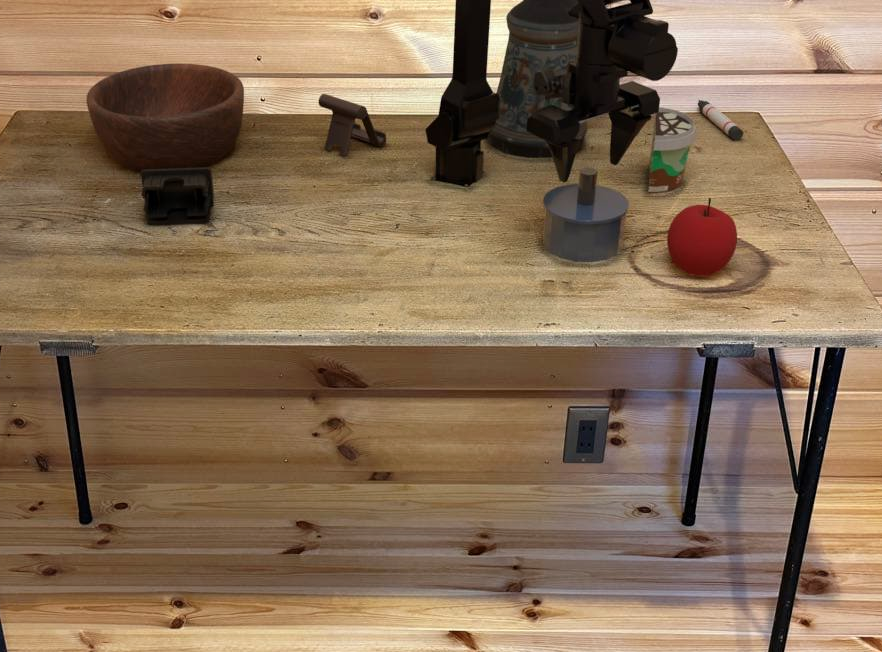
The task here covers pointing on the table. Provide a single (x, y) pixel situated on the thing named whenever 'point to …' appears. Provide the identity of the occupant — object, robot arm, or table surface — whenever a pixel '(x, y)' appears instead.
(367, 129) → the tablet stand
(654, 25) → the robot arm
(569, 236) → the tin
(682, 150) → the food container
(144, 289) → the table surface
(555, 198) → the lid
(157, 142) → the wooden bowl
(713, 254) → the apple
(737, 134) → the marker
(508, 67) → the beer stein
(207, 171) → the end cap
